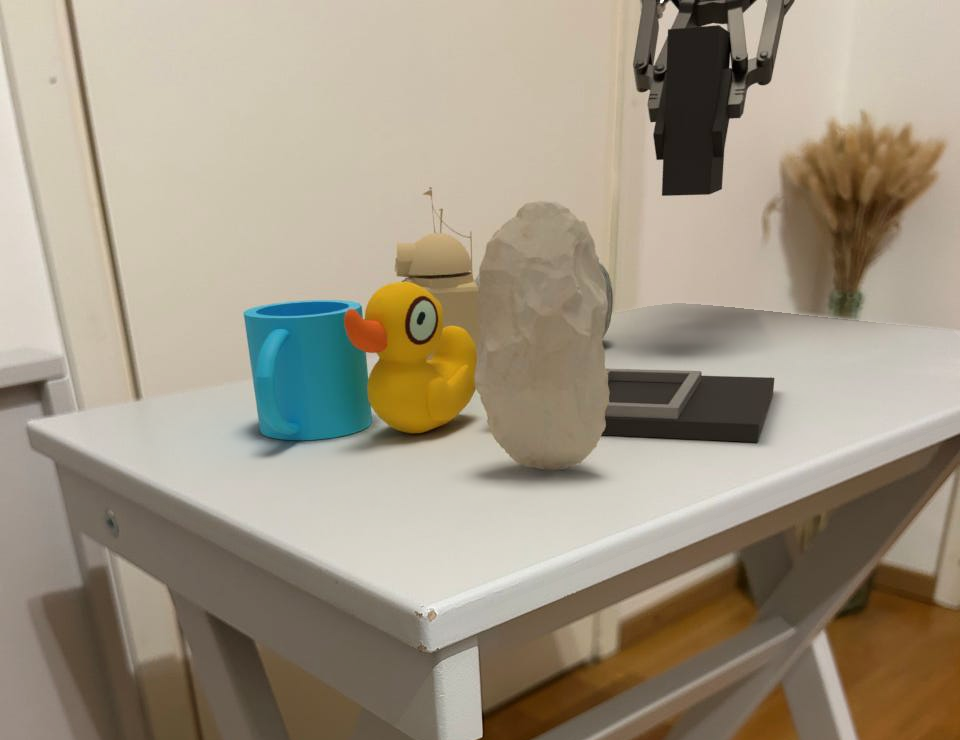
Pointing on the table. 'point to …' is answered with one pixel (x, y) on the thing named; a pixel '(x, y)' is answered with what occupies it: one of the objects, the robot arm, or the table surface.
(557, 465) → the stone
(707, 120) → the pad block
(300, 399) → the mug
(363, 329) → the duckling
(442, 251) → the robot
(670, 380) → the base pad
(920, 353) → the table surface
